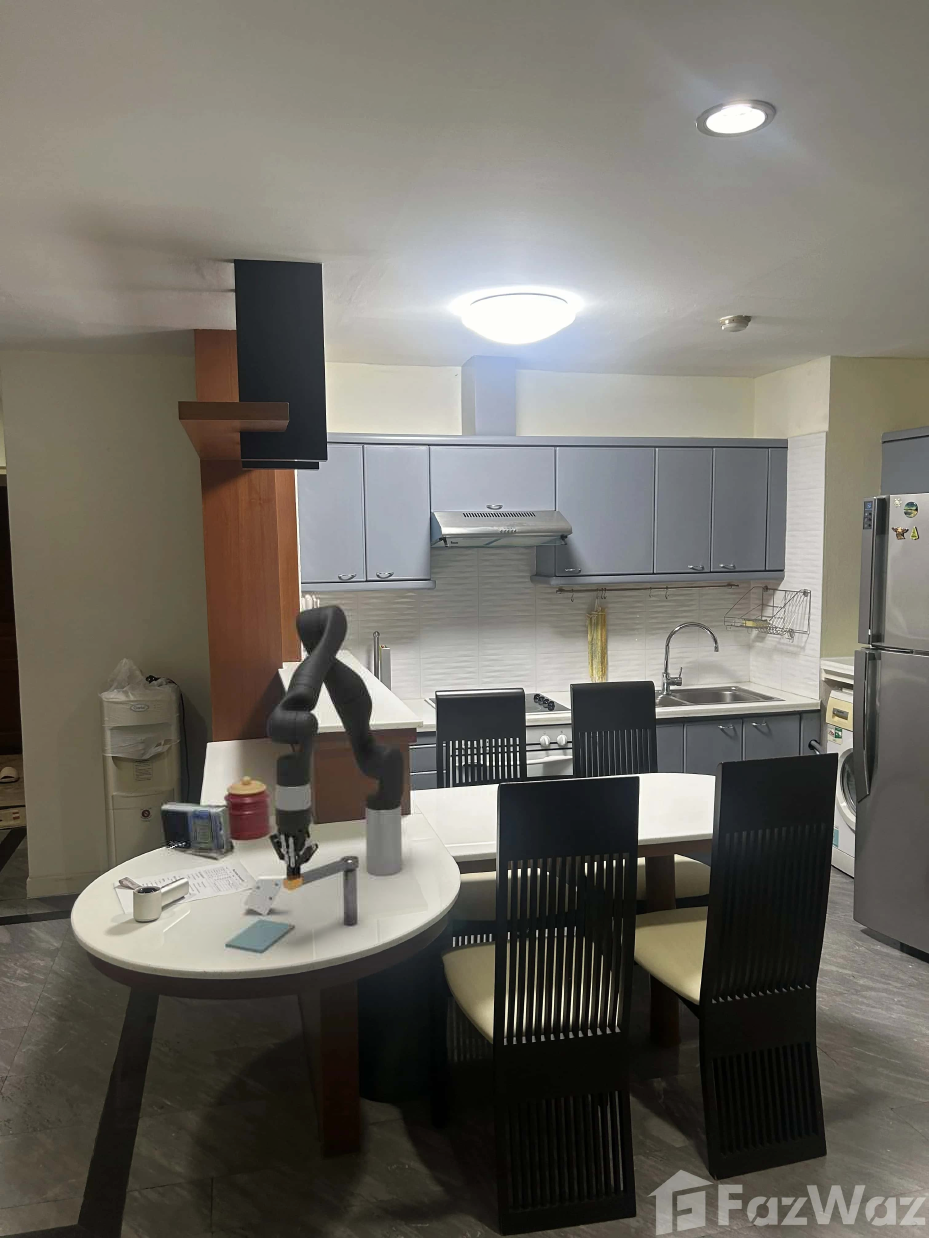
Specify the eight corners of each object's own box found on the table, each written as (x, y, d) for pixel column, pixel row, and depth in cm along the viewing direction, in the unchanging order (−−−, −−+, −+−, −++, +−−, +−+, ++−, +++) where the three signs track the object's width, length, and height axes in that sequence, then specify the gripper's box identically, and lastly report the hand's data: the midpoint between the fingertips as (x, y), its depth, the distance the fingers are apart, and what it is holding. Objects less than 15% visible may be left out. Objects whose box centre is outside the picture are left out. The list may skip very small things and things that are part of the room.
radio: (157, 849, 248) (155, 799, 246) (182, 841, 255) (180, 791, 253) (212, 865, 235) (210, 812, 234) (236, 855, 242) (235, 804, 241)
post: (347, 919, 200) (346, 864, 199) (359, 921, 199) (358, 866, 198) (341, 924, 197) (340, 869, 196) (353, 926, 196) (352, 870, 195)
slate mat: (260, 922, 199) (260, 919, 199) (294, 928, 196) (294, 924, 196) (225, 947, 187) (225, 943, 187) (261, 953, 184) (261, 950, 183)
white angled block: (287, 915, 203) (286, 878, 202) (244, 916, 202) (242, 879, 201) (290, 908, 206) (289, 872, 205) (247, 909, 206) (246, 873, 205)
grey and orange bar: (350, 862, 200) (350, 853, 200) (362, 866, 197) (362, 857, 197) (281, 886, 186) (281, 877, 186) (292, 891, 183) (292, 882, 183)
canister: (277, 829, 264) (275, 771, 263) (260, 843, 252) (258, 783, 250) (236, 827, 267) (235, 769, 265) (217, 841, 254) (215, 781, 252)
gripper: (258, 801, 188) (259, 879, 190) (302, 813, 181) (303, 894, 183) (284, 793, 194) (284, 868, 196) (328, 804, 187) (328, 883, 189)
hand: (293, 881), depth 189 cm, fingers closed
